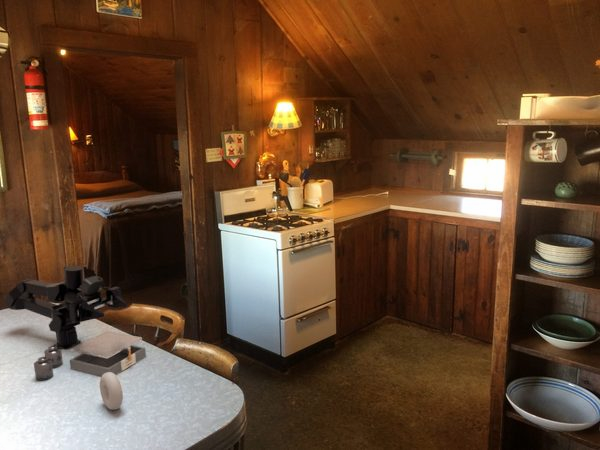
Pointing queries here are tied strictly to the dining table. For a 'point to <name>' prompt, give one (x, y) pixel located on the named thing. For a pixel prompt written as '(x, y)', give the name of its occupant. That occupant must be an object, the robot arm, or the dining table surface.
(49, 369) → the weight
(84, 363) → the scale base
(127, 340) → the scale pan
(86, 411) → the dining table surface
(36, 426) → the dining table surface
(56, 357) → the weight
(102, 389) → the donut
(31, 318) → the dining table surface
